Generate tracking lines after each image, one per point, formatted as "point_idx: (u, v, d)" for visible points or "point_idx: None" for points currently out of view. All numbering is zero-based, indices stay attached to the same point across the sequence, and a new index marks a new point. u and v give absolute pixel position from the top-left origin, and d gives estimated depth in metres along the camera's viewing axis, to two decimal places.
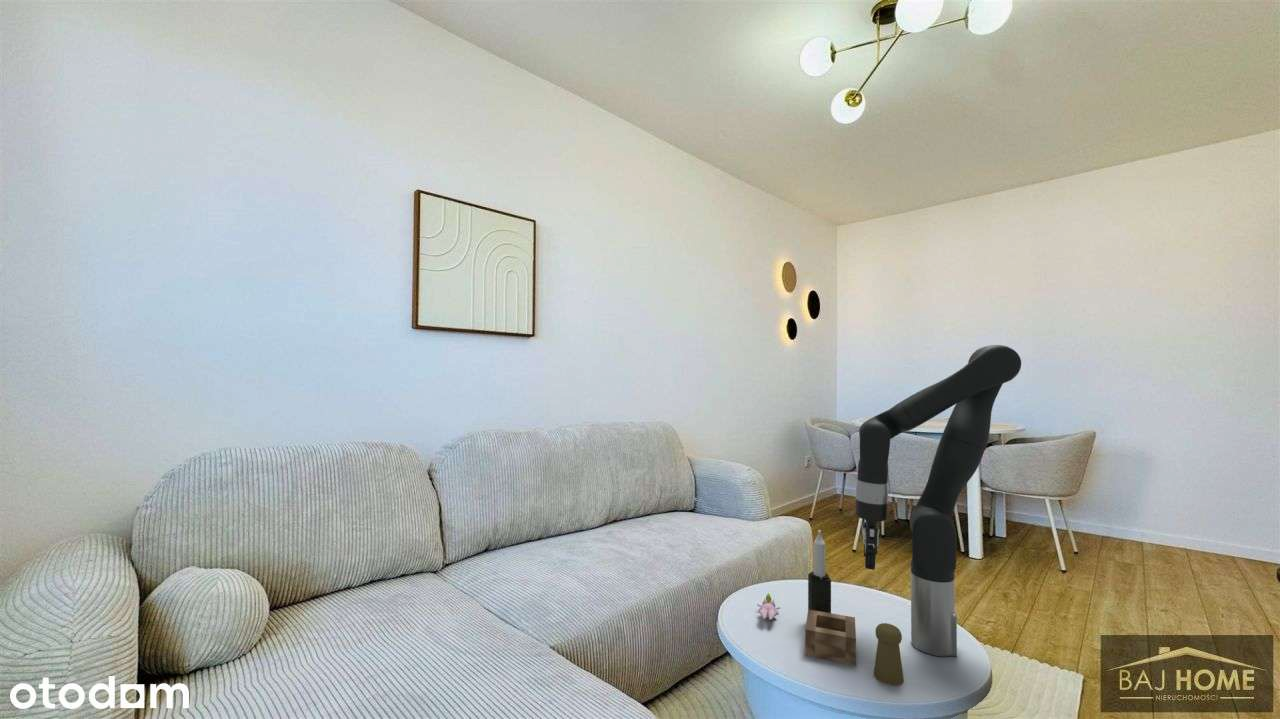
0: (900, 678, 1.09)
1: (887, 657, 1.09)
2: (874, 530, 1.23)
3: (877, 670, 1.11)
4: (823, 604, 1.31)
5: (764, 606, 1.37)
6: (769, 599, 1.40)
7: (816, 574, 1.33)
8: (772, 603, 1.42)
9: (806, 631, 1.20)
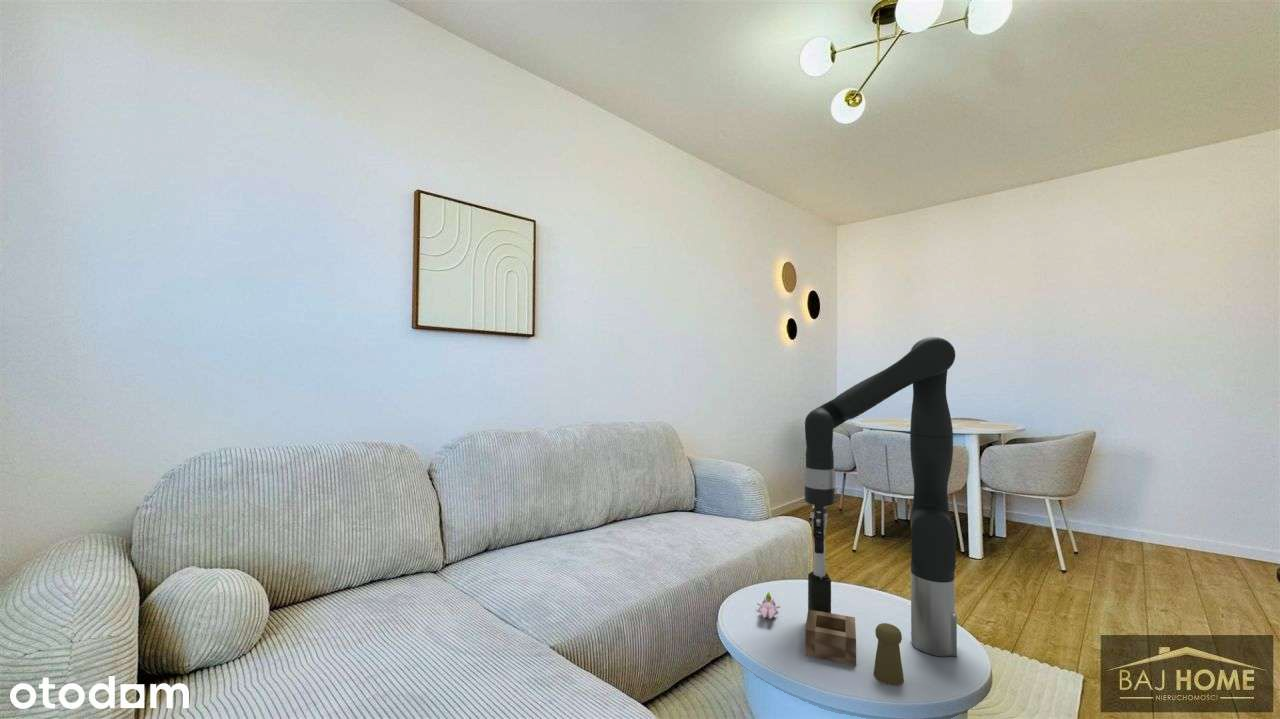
0: (900, 678, 1.09)
1: (887, 657, 1.09)
2: (820, 521, 1.28)
3: (877, 670, 1.11)
4: (823, 604, 1.31)
5: (764, 605, 1.37)
6: (769, 598, 1.40)
7: (816, 574, 1.33)
8: (772, 602, 1.42)
9: (806, 631, 1.20)
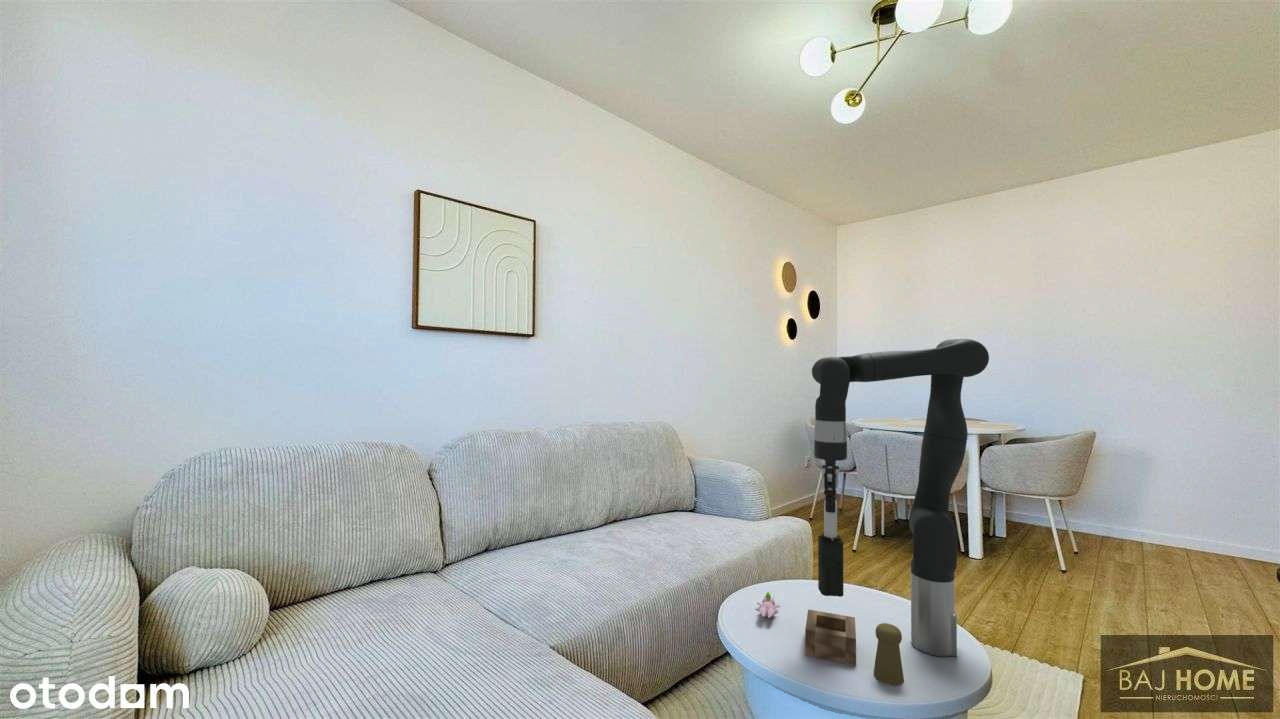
0: (900, 678, 1.09)
1: (887, 657, 1.09)
2: (832, 476, 1.18)
3: (877, 670, 1.11)
4: (834, 567, 1.21)
5: (763, 604, 1.38)
6: (769, 597, 1.41)
7: (827, 535, 1.23)
8: (772, 601, 1.43)
9: (806, 631, 1.20)
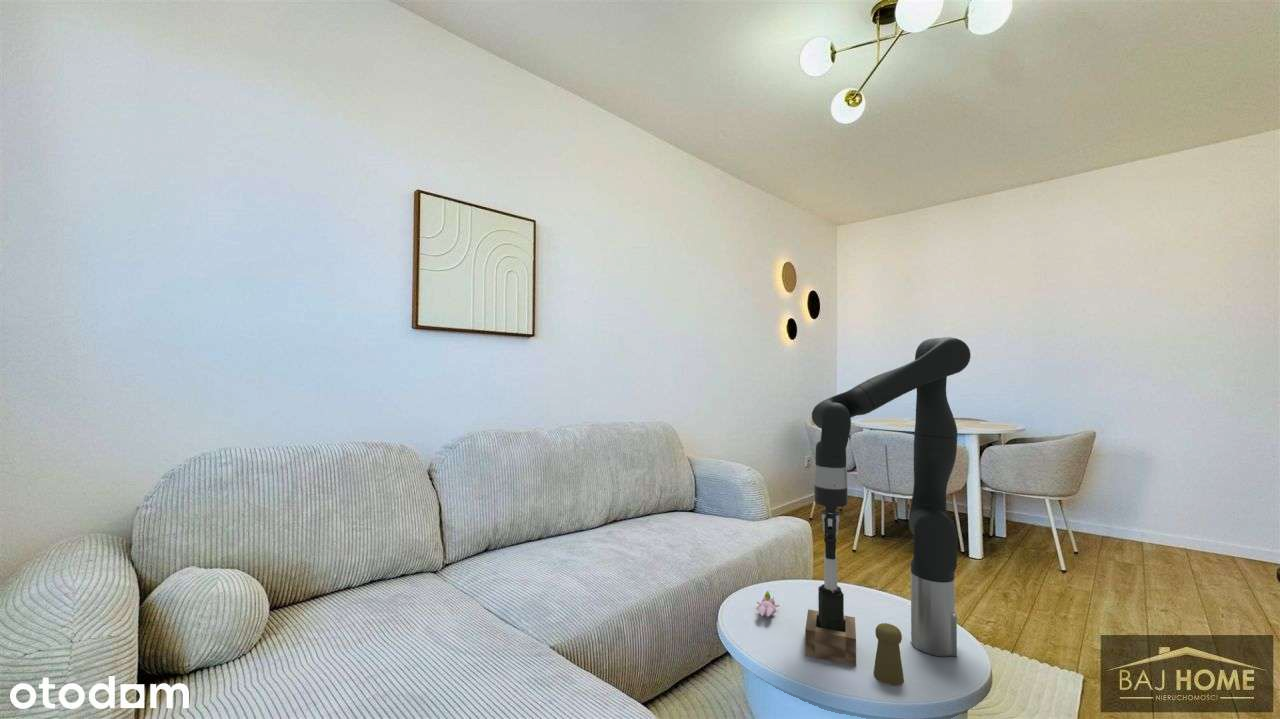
0: (900, 678, 1.09)
1: (887, 657, 1.09)
2: (832, 520, 1.17)
3: (877, 670, 1.11)
4: (835, 620, 1.20)
5: (762, 603, 1.38)
6: (768, 597, 1.41)
7: (827, 587, 1.22)
8: (771, 601, 1.43)
9: (806, 631, 1.20)
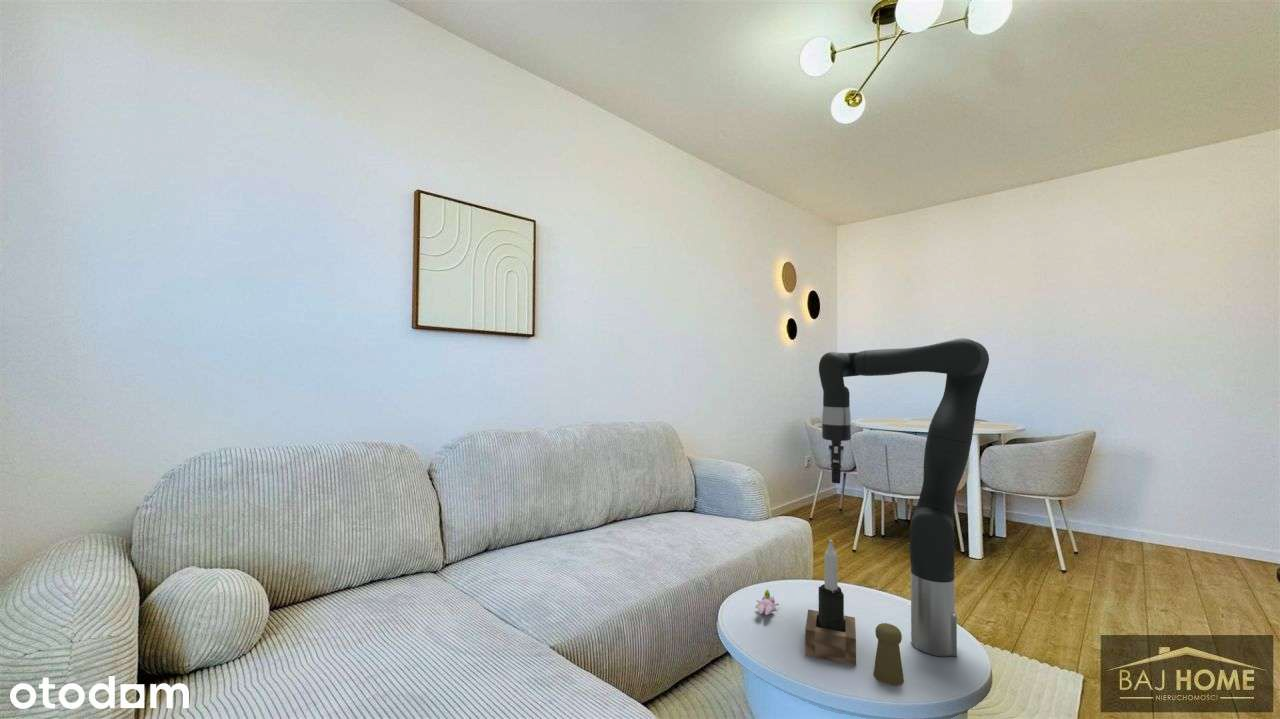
0: (900, 678, 1.09)
1: (887, 657, 1.09)
2: (837, 447, 1.38)
3: (877, 670, 1.11)
4: (835, 620, 1.20)
5: (762, 602, 1.39)
6: (768, 595, 1.42)
7: (827, 588, 1.22)
8: (771, 599, 1.44)
9: (806, 631, 1.20)
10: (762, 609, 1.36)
